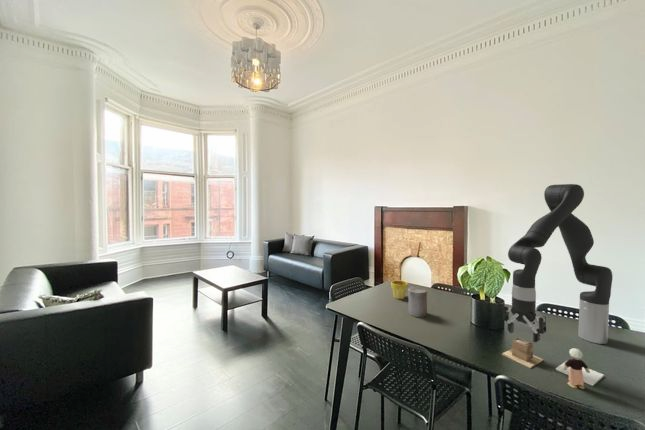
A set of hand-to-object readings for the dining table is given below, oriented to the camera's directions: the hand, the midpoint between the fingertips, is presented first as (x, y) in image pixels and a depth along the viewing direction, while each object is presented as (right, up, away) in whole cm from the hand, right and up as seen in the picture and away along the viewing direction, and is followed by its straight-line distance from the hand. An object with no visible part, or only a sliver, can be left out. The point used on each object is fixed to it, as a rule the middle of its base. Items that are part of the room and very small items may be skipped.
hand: (523, 336), depth 106 cm
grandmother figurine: (+5, -9, -16) cm, 19 cm away
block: (0, -8, 0) cm, 8 cm away
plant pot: (-29, -6, +69) cm, 75 cm away
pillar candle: (-27, -7, +43) cm, 51 cm away
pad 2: (+13, -9, -10) cm, 18 cm away
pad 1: (0, -8, 0) cm, 8 cm away
